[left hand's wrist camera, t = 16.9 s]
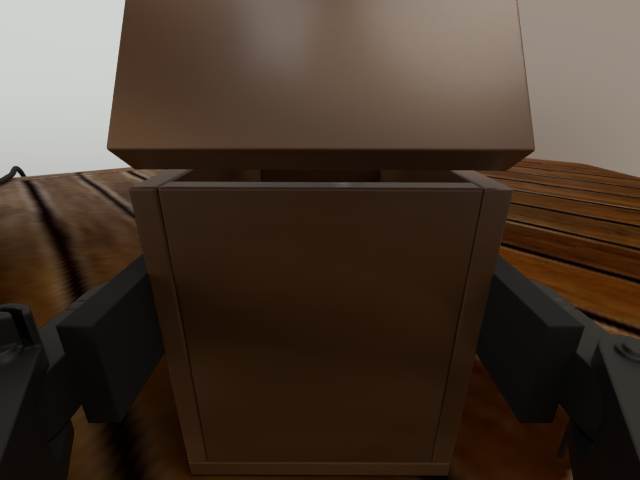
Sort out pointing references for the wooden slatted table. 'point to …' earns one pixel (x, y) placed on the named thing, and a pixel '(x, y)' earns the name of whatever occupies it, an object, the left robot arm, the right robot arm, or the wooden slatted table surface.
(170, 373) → the chest
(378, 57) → the lid
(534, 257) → the wooden slatted table surface
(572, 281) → the wooden slatted table surface
